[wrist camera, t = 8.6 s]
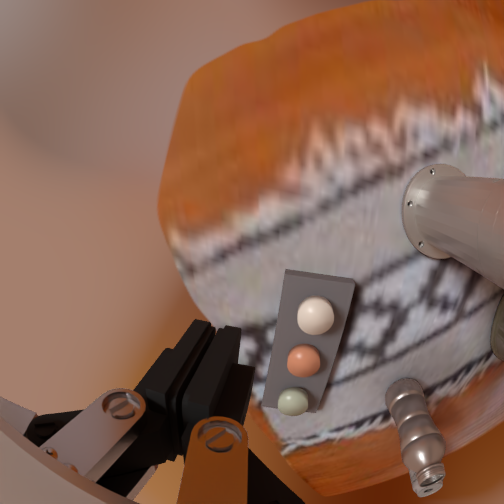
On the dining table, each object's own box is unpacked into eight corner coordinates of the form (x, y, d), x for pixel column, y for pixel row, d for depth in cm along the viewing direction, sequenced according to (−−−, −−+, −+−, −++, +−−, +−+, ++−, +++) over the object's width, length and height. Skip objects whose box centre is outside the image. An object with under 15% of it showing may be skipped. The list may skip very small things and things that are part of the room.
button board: (352, 278, 36) (355, 284, 34) (315, 404, 42) (315, 412, 40) (285, 268, 37) (284, 273, 35) (262, 398, 43) (261, 406, 41)
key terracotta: (322, 345, 36) (323, 353, 34) (315, 370, 38) (315, 379, 36) (290, 341, 37) (290, 349, 35) (285, 366, 38) (284, 375, 36)
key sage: (310, 389, 38) (311, 397, 36) (304, 408, 39) (304, 417, 37) (281, 385, 38) (280, 394, 36) (276, 405, 39) (275, 413, 37)
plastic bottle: (394, 370, 38) (429, 468, 19) (425, 376, 38) (465, 463, 19) (375, 398, 40) (397, 494, 21) (406, 402, 40) (434, 490, 20)
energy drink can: (418, 443, 42) (433, 495, 28) (396, 445, 43) (408, 500, 28) (432, 426, 40) (452, 479, 26) (409, 427, 41) (426, 484, 27)
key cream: (335, 298, 34) (337, 304, 32) (328, 328, 35) (329, 336, 33) (300, 293, 34) (300, 299, 32) (294, 324, 35) (294, 332, 33)
